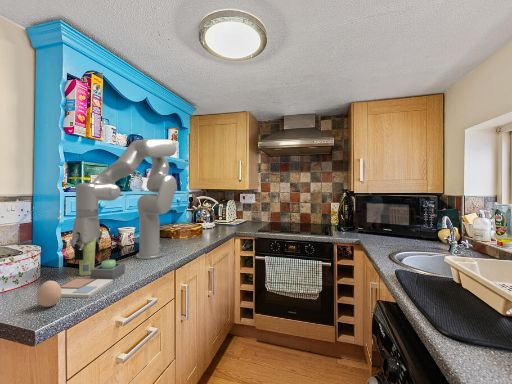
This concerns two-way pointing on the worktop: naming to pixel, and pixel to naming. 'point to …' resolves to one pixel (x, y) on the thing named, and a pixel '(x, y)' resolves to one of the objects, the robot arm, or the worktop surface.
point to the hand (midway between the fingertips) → (87, 256)
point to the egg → (49, 294)
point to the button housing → (108, 272)
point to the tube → (87, 258)
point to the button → (108, 264)
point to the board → (83, 287)
